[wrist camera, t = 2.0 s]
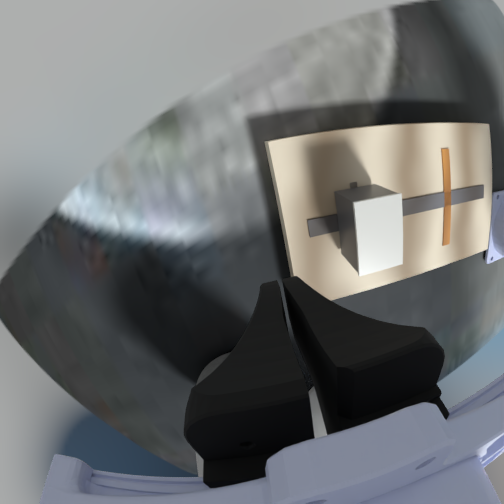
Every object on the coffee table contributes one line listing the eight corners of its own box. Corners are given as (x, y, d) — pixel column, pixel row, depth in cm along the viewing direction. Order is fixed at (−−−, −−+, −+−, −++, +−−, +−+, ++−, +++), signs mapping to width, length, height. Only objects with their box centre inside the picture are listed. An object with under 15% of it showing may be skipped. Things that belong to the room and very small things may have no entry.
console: (474, 122, 18) (489, 124, 16) (475, 241, 22) (488, 249, 20) (264, 141, 18) (268, 141, 16) (293, 294, 23) (299, 309, 21)
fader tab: (375, 183, 17) (401, 193, 14) (379, 244, 19) (402, 264, 16) (333, 190, 17) (354, 202, 14) (340, 254, 19) (359, 276, 16)
